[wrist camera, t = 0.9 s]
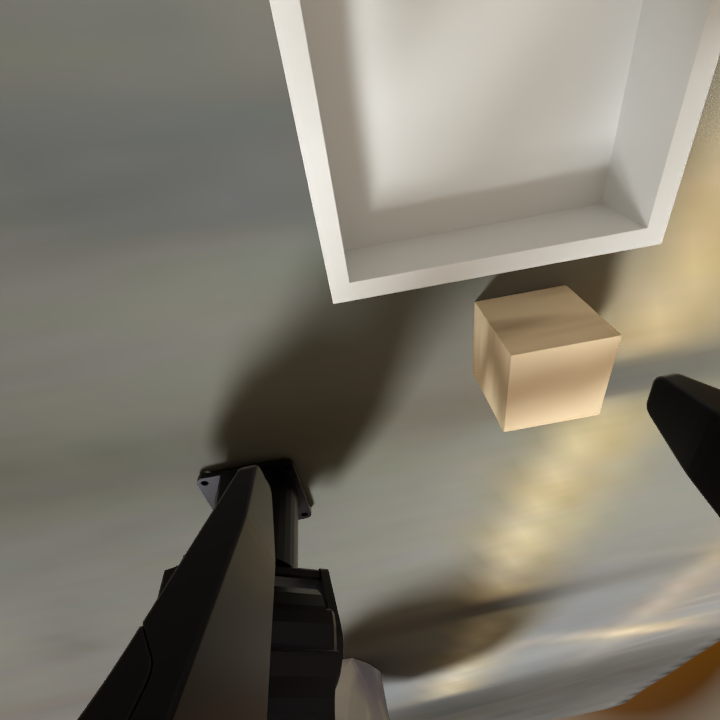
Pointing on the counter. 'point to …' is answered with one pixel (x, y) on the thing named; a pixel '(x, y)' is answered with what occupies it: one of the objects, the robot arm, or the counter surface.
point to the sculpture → (360, 692)
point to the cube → (542, 357)
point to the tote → (490, 129)
